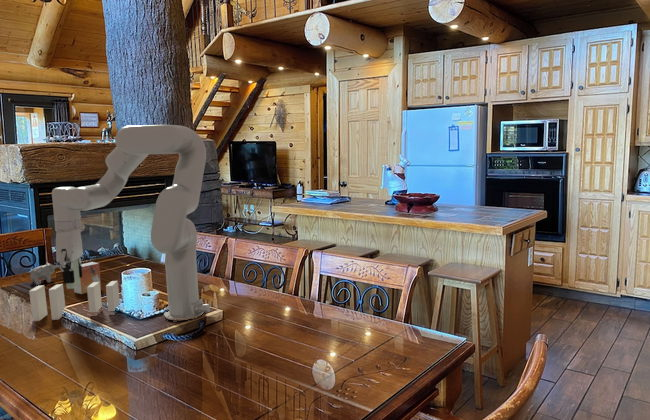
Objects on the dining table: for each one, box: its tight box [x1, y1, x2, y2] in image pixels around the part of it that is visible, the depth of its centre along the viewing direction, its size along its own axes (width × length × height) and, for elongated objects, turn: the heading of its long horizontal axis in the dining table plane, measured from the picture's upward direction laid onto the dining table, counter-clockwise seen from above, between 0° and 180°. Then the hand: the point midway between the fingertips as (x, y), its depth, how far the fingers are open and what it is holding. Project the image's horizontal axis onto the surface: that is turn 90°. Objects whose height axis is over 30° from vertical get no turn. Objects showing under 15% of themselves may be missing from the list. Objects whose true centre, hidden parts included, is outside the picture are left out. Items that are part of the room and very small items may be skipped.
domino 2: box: [48, 283, 66, 321], centre depth 160 cm, size 2×6×10 cm, turn 7°
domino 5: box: [105, 280, 121, 312], centre depth 162 cm, size 2×6×10 cm, turn 7°
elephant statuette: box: [29, 262, 62, 286], centre depth 204 cm, size 9×12×8 cm
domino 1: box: [29, 284, 48, 322], centre depth 159 cm, size 2×6×10 cm, turn 7°
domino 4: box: [86, 282, 103, 312], centre depth 161 cm, size 2×6×10 cm, turn 7°
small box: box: [73, 261, 102, 295], centre depth 188 cm, size 8×6×10 cm
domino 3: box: [65, 259, 80, 290], centre depth 159 cm, size 2×6×10 cm, turn 7°
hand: (73, 279), depth 159 cm, fingers closed on domino 3, 5 cm apart
